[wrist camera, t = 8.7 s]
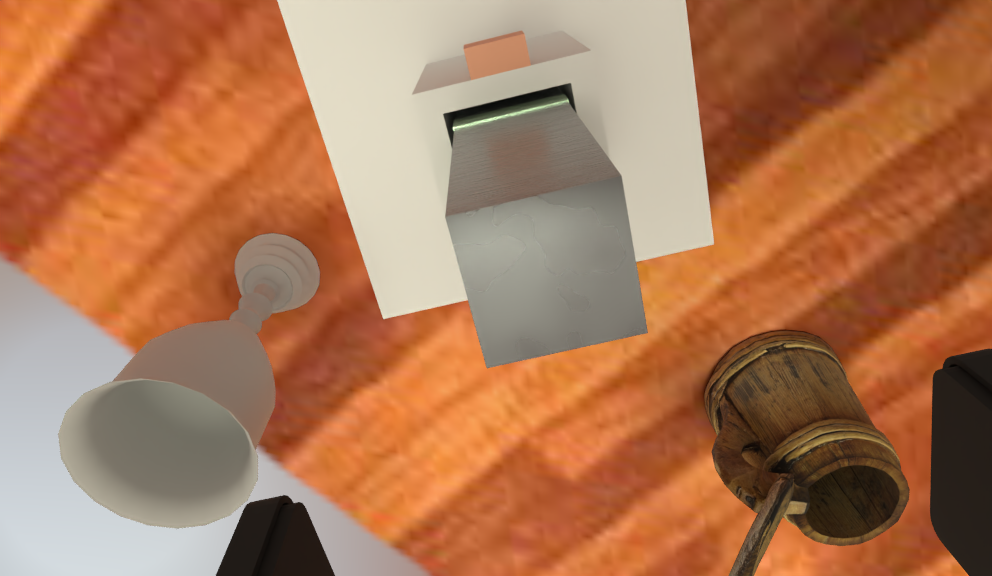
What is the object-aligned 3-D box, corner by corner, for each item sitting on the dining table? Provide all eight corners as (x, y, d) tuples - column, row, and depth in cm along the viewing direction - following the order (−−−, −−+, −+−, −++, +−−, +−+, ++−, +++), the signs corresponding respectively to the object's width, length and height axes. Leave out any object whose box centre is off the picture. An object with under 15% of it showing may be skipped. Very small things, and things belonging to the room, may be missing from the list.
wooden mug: (659, 309, 45) (765, 503, 29) (860, 339, 47) (1071, 541, 30) (624, 427, 49) (702, 659, 32) (812, 451, 50) (978, 687, 34)
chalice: (207, 305, 44) (51, 504, 28) (225, 203, 42) (65, 356, 25) (325, 336, 45) (242, 545, 29) (349, 238, 43) (274, 407, 26)
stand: (661, -139, 35) (741, -184, 25) (706, 235, 43) (781, 320, 33) (272, -37, 37) (193, -39, 26) (386, 308, 45) (359, 412, 34)
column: (553, 79, 32) (623, 173, 17) (572, 176, 34) (650, 334, 19) (455, 104, 32) (442, 215, 18) (479, 198, 34) (485, 370, 20)
